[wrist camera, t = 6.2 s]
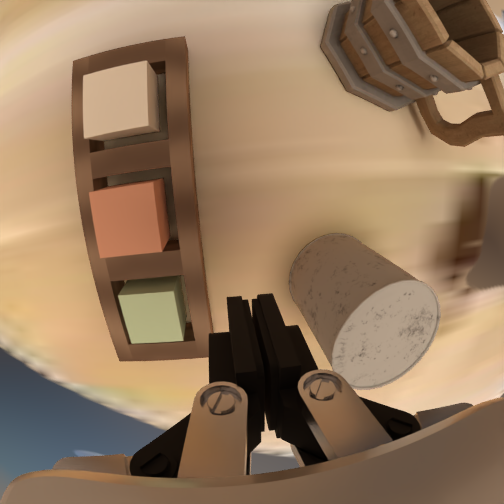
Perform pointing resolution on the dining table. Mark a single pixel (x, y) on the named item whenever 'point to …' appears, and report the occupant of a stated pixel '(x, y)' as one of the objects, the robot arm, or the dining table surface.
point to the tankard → (420, 58)
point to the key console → (184, 190)
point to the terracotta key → (130, 218)
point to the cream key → (120, 102)
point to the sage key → (154, 309)
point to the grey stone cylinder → (363, 310)
